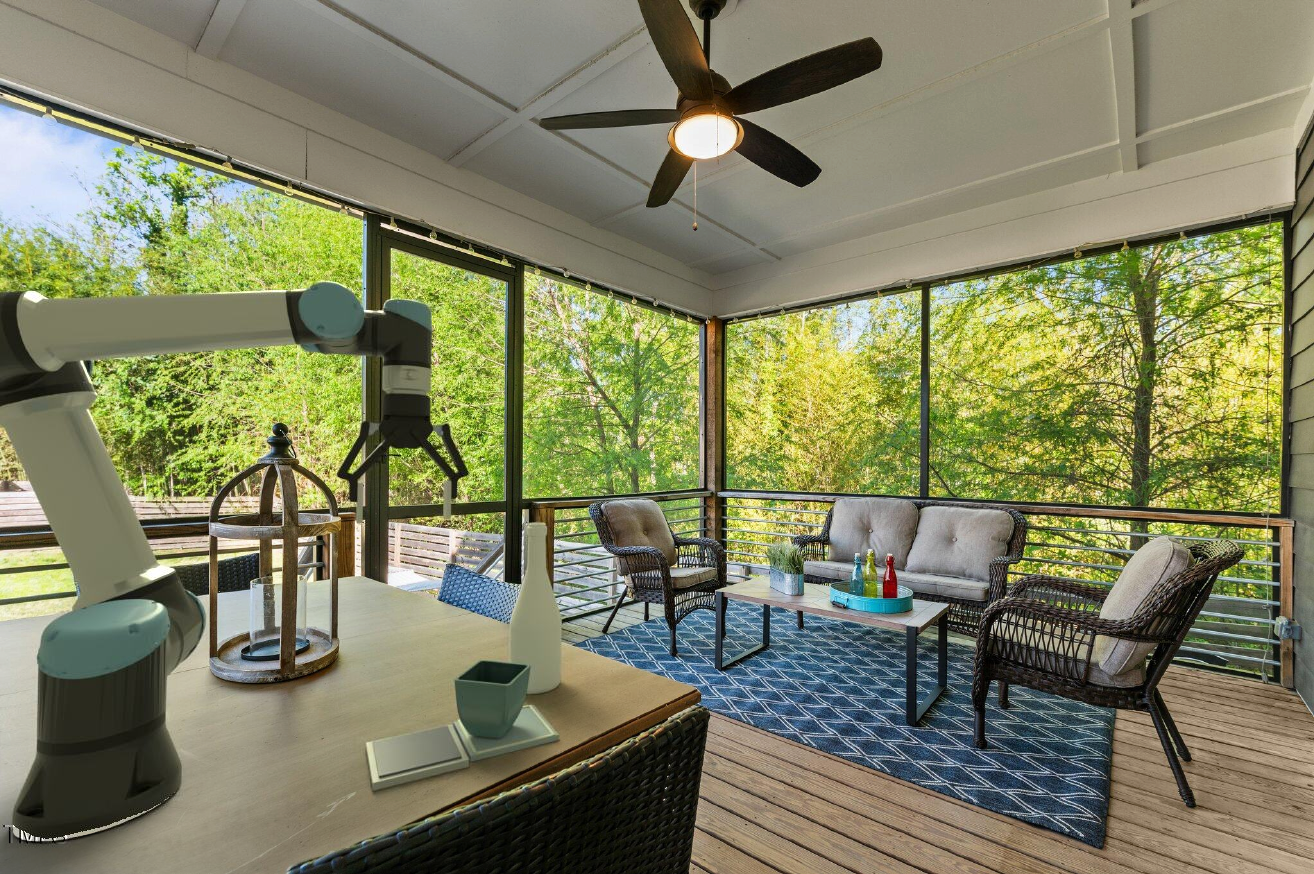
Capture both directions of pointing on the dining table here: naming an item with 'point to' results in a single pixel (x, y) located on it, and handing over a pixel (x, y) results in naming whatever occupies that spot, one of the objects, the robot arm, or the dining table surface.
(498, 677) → the flower pot
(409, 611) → the dining table surface
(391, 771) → the ink pad
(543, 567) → the wine bottle
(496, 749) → the board
